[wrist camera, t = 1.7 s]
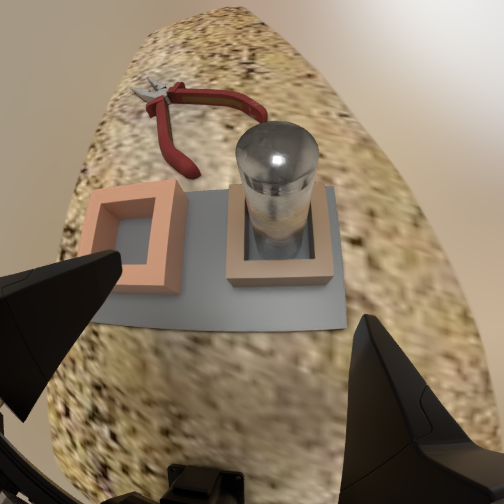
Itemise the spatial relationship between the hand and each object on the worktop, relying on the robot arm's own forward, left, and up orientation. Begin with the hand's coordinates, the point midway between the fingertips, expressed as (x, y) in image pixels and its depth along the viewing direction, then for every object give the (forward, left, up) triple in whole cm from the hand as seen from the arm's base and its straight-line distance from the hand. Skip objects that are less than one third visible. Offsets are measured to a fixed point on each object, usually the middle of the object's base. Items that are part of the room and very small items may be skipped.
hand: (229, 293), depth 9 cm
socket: (+6, +10, -12) cm, 17 cm away
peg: (+6, -2, -12) cm, 14 cm away
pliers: (+24, +8, -14) cm, 29 cm away
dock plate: (+5, +4, -13) cm, 15 cm away
